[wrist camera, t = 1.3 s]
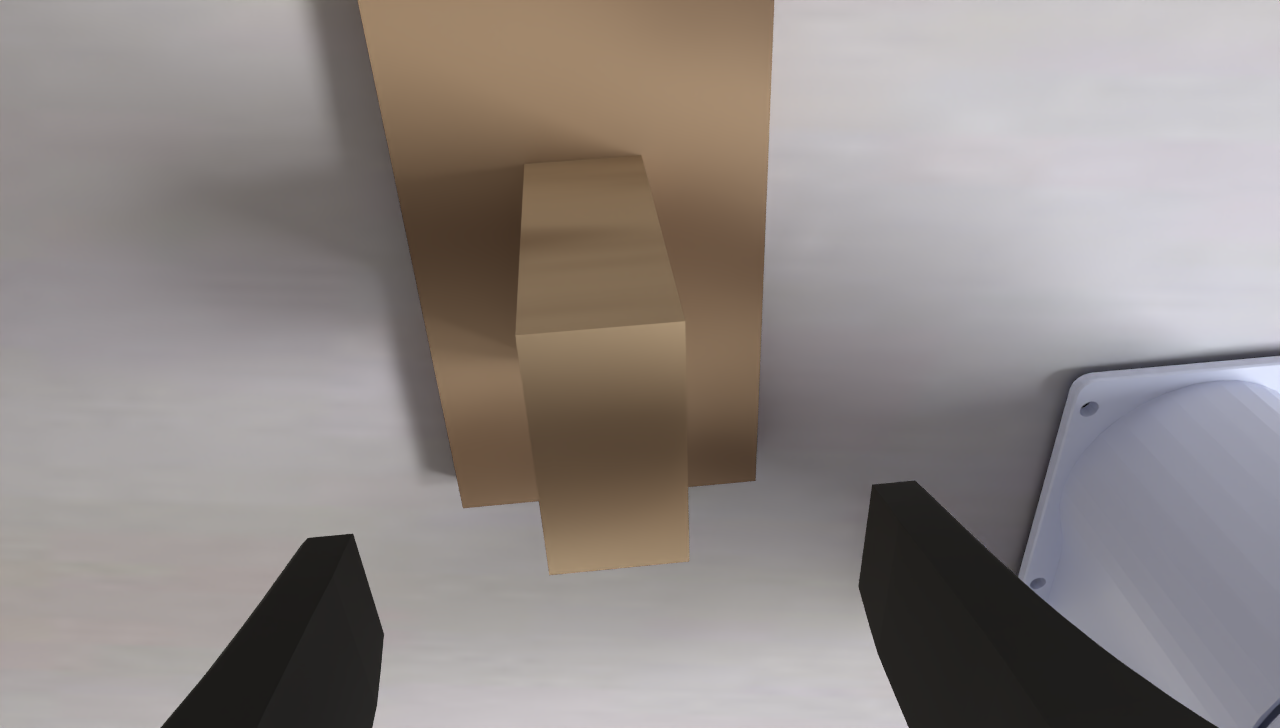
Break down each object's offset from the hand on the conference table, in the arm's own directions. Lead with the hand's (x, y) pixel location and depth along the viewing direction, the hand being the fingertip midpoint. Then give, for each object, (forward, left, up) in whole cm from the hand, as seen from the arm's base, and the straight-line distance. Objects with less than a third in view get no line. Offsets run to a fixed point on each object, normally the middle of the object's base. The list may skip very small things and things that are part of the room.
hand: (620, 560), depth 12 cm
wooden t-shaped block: (0, 0, -11) cm, 11 cm away
